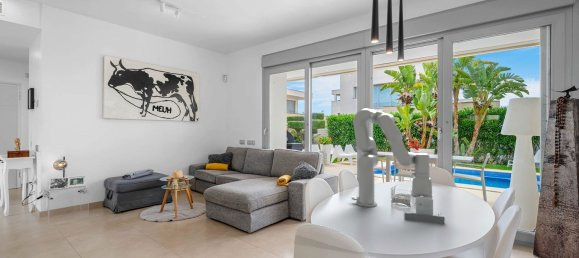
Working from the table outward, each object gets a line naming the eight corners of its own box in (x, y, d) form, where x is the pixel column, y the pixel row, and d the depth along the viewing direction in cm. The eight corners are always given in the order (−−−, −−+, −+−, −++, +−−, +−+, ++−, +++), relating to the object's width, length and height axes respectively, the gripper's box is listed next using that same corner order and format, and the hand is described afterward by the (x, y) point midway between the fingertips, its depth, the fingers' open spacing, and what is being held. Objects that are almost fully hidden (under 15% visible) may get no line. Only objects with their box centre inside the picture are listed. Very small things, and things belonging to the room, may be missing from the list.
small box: (431, 216, 152) (431, 197, 152) (433, 219, 146) (433, 199, 146) (415, 214, 154) (415, 195, 154) (416, 218, 149) (416, 198, 149)
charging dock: (404, 219, 146) (404, 212, 146) (404, 212, 159) (404, 206, 159) (444, 223, 140) (444, 216, 140) (440, 216, 152) (440, 209, 152)
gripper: (407, 175, 156) (407, 208, 157) (437, 177, 151) (437, 211, 151) (407, 173, 163) (407, 204, 163) (436, 175, 158) (435, 207, 158)
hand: (421, 207), depth 157 cm, fingers closed
